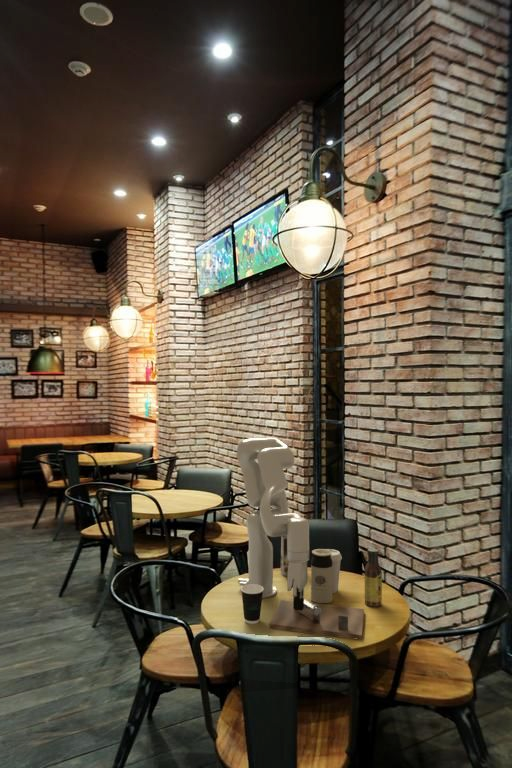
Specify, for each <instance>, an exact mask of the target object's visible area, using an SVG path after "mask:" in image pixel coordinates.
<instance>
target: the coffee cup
mask: <svg viewBox="0 0 512 768" xmlns="http://www.w3.org/2000/svg"><path fill="white" fill-rule="evenodd" d="M325 549H326V548H325ZM326 550H329V551H331V552H332V554H331V559H332V594H335V593H338V591H339V582H340V571H341V560H342V559H343V557H342V554H341V553H340V551H339V550H338V549H337V550H336V549H332V548H331V549H330V548H327V549H326Z"/></svg>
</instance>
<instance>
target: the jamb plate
mask: <svg viewBox="0 0 512 768" xmlns="http://www.w3.org/2000/svg"><path fill="white" fill-rule="evenodd" d="M310 603H311V602H310ZM311 604H313V605H314V606H319V607H320V622H319V623H315V622H313V621H312V620H311V619H309V618H308V617H306V616H305V615H303V614H302V613H300V612H299V611H297V610H294V608H293V600H285V599H281V600H280V602H279V604H278V606H277V608H276V610H275V612H274V614H273V616H272V617H271V620H270V622H269V624H268V625H269V626H268V627H269V629H273V630H280V631H286V632H287V631H289V632H296V633H304V634H313V635H319V634H320V635H321V636H327V637H335V636H337V637H336V638H343V637H348V638H347V639H351V638H357V639H356V640H359V639H362V638H363V630H364V629H363V628H364V618H365V609H364V608H357V607H351V606H350V607H349V606H340V605H339V606H338V605H331V604H324V603H314V602H313V603H311ZM320 635H319V636H320ZM338 636H340V637H338ZM341 636H342V637H341Z"/></svg>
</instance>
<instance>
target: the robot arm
mask: <svg viewBox="0 0 512 768" xmlns="http://www.w3.org/2000/svg"><path fill="white" fill-rule="evenodd" d="M236 457H237V461H238V464H239V467H240V469H241V473H242V476H243V482H244V489H245V495H246V496H245V497H246V501H247V504H248V506H250V508H251V507H252V508H259V510H256V511H253V512H250V513H249V514H248V515H247V517H246V529H247V530H246V531H247V536H248V578H240V577H239V578H238V580H237V581H238V582H237V583H238V584H239V586H241V587H242V586H244V585H248V584H256V585H260V586H262V587H263V588H264V590H263V595H262V599H265V598H266V599H267V598H271V597H273V596H275V595H276V594H277V587H276V586H275V585H273V584H274V547H273V543H272V542H271V540H270V539H269V537H270V538H276V537H277V538H278V537H281V536H286V535H287V559H288V560H289V565H288V576H287V580H286V582H287V585H286V587H287V591H288V592H290V591H291V590H292V600H293V599H294V610H300V611H302V610H303V609H304V599H305V597H304V594H305V592H304V591H305V587H306V586H307V585H308V580H309V579H308V561H310V522H309V520H308V519H307V518H306V517H302V516H300V515H299V514H298V513H296V512H289V506H288V505H289V504H288V499H287V495H286V488H288V480H287V478H286V474H285V469H291V468H293V467H294V465H295V455H294V452H293V450H292V449H291V448H290V447H289V446H288V445H286V444H285V443H284V442H282V441H281V440H279V438H275V437H265V438H263V437H261V438H260V437H257V438H256V437H254V438H247V439H243V440H241V441H239V443H238V444H237V448H236ZM256 460H257V461H256ZM271 507H272V508H271Z"/></svg>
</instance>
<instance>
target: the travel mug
mask: <svg viewBox="0 0 512 768" xmlns="http://www.w3.org/2000/svg"><path fill="white" fill-rule="evenodd" d="M311 553H312V557H311V559H310V565H311V566H310V568H311V569H310V572H311V573H310V599H311V601H313V603H314V602H315V603H316V604H328V603H330V602H332V601H333V593H332V559H331V554H332V552H331V551H329V550H326V548H317V549H313V550H311Z"/></svg>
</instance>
